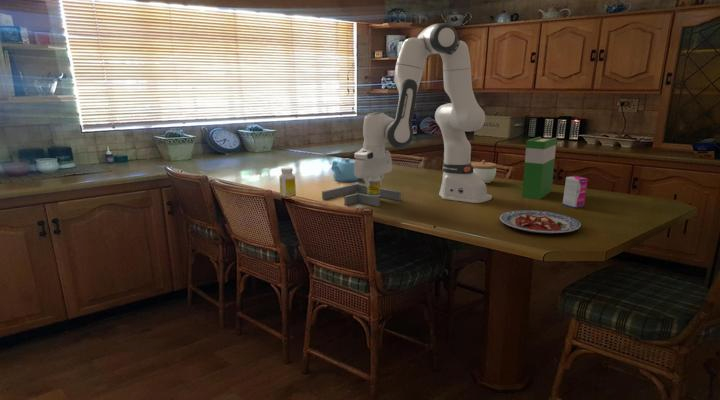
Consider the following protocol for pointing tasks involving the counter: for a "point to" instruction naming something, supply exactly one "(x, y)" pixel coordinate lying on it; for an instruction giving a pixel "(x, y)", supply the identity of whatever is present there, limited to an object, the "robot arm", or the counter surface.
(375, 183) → the supplement bottle
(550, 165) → the green white carton
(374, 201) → the guide walls
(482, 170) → the lidded bowl
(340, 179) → the teapot
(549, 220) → the ceramic plate
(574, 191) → the supplement box
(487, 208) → the counter surface
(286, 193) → the supplement bottle
